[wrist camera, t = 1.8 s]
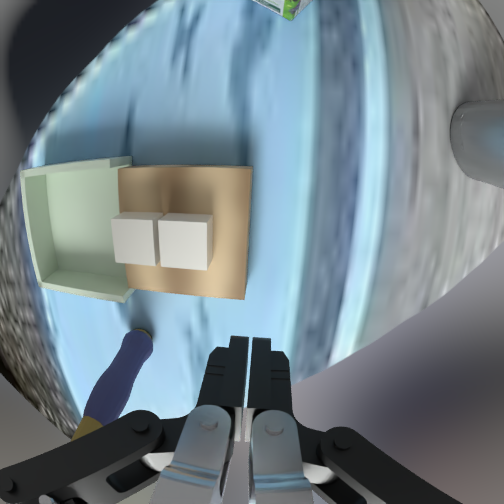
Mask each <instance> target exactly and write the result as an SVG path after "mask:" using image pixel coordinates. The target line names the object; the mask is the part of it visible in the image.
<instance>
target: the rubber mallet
mask: <svg viewBox="0 0 504 504" xmlns="http://www.w3.org/2000/svg"><path fill="white" fill-rule="evenodd" d="M152 352H153V342H152V338H151V336H150V335H149V333H148V332H146V331H145V330H142V329H134V330H133V331H130V332H128V333H127V334H126V335H125V337H124V339H123V341H122V345H121V348H120V350H119V352H118V353H117V355H116V357H115V358H114V360H113V361H112V363H111V365H110V366H109V367H108V369H107V370H106V371H105V372H104V373H103V374H102V376H101V377H100V378H99V380H98V381H97V383H96V385H95V386H94V388H93V390H92V392H91V394H90V397H89V399H88V401H87V404H86V407H85V409H84V414H83V418H82V420H81V422H80V424H79V426H78V428H77V430H76V432H75V434H74V436H73V438H72V440H71V441H73V440H76V439H78V438H80V437H82V436H84V435H86V434H88V433H90V432H93V431H95V430H97V429H99V428H101V427H103V426H105V425H107V424H109V423H111V422H113V421H115V420H117V419H118V417H119V416H120V414H121V413H122V411H123V409H124V407H125V405H126V403H127V401H128V399H129V397H130V393H131V390H132V387H133V383H134V381H135V378H136V377H137V375H138V373H139V371H140V369H141V367H142V365H143V363H144V362H145V361H146V360H147V359H148V358H149V357H150V355H151V354H152ZM6 504H8V503H6Z"/></svg>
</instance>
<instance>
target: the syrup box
mask: <svg viewBox="0 0 504 504" xmlns="http://www.w3.org/2000/svg"><path fill="white" fill-rule="evenodd" d="M253 1H255V2H257V3H258V4H260V5H262V6H264V7H266V8H268V9H270V10H272V11H273V12H275V13H277V14H279V15H281V16H283V17H284V18H286V19H288V20H289V21H292V20H293V19H294V18H295V17H296V16H297V15H298V14H299V13H300V12H301V11H302V10H303V9H304V8H305V7H306V6H307V5H308V4H309V3H310V2H311V1H312V0H253Z"/></svg>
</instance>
